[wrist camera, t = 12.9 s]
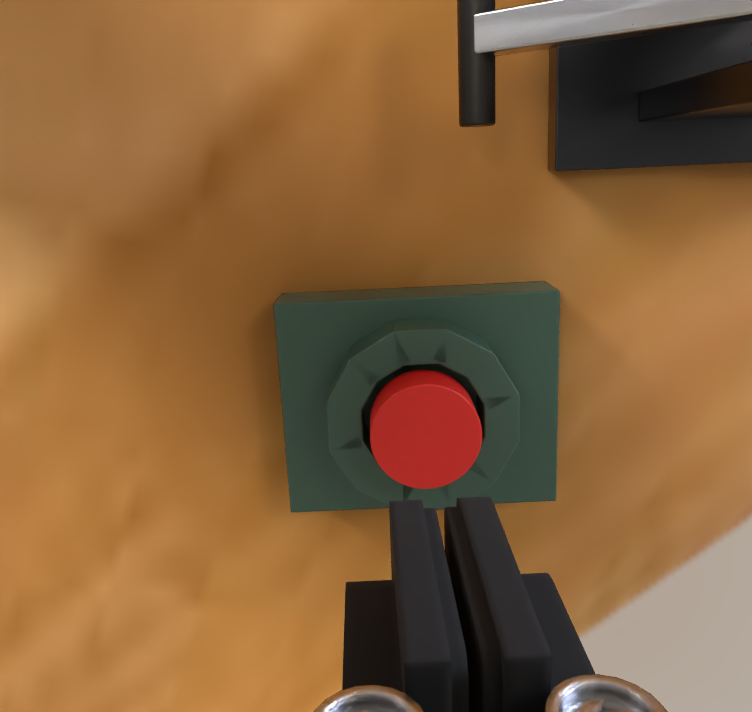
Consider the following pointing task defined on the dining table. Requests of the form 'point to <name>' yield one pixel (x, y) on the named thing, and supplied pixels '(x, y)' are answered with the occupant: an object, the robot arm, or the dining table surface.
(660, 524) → the dining table surface
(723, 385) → the dining table surface
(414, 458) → the button
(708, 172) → the dining table surface
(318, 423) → the button box
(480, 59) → the lever
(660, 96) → the bracket
